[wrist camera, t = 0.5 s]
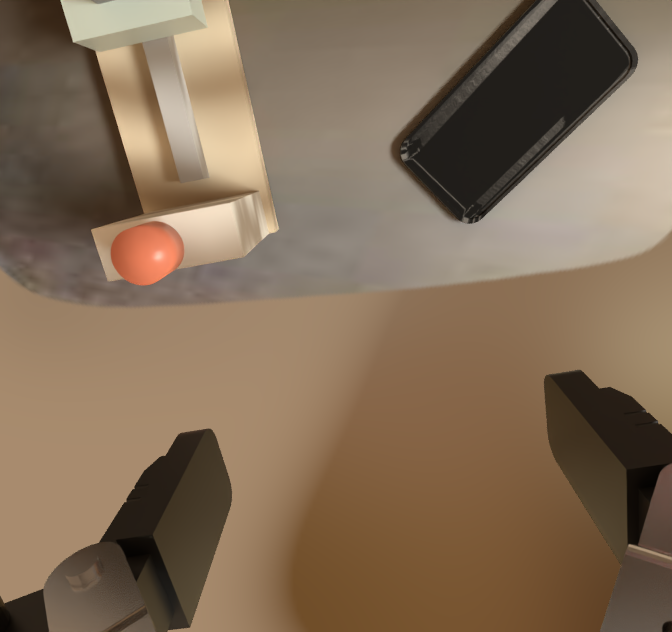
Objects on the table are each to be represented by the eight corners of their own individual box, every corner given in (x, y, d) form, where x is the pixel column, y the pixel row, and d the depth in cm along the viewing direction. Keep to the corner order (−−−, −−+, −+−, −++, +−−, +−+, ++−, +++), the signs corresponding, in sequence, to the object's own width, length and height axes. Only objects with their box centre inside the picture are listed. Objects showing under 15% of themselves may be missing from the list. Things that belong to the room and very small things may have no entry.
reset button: (124, 226, 26) (102, 233, 24) (175, 216, 26) (158, 223, 24) (140, 278, 27) (121, 289, 25) (190, 269, 27) (175, 279, 24)
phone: (393, 152, 35) (568, -34, 31) (392, 152, 36) (561, -28, 32) (470, 231, 36) (646, 63, 32) (467, 229, 37) (637, 66, 33)
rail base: (63, -92, 32) (-63, -196, 22) (200, -127, 31) (130, -251, 21) (163, 250, 38) (99, 283, 29) (278, 228, 37) (252, 255, 28)
